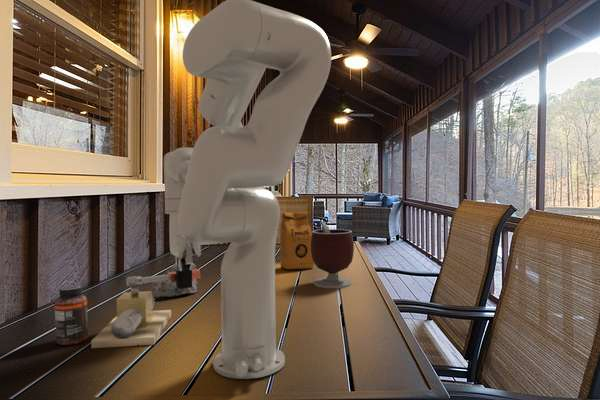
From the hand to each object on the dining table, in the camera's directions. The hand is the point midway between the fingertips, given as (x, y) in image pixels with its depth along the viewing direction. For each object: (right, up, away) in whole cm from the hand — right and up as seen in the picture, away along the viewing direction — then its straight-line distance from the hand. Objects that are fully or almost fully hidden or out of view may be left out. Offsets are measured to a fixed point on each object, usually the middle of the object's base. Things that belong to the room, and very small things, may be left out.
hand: (184, 287), depth 95 cm
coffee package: (+25, -7, +67) cm, 72 cm away
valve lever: (-5, +1, +1) cm, 5 cm away
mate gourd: (+37, -8, +41) cm, 56 cm away
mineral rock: (-10, -9, +29) cm, 32 cm away
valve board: (-10, -9, -2) cm, 14 cm away
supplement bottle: (-21, -10, -8) cm, 25 cm away
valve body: (-10, -8, -2) cm, 13 cm away
